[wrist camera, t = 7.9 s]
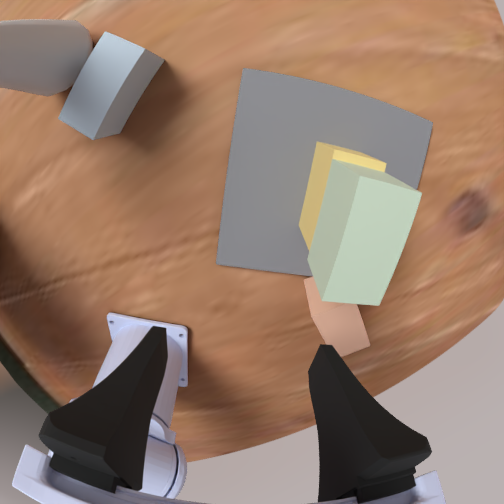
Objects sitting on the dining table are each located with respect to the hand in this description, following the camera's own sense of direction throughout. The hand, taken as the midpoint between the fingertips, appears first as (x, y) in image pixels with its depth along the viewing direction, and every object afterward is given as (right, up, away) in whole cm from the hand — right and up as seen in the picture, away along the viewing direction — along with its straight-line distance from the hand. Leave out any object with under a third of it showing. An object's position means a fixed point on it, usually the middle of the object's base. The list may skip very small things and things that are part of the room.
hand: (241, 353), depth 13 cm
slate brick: (-8, +16, +3) cm, 18 cm away
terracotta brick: (+7, +1, +10) cm, 13 cm away
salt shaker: (-13, +19, +1) cm, 23 cm away
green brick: (+6, +7, +3) cm, 9 cm away
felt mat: (+6, +9, +6) cm, 13 cm away
